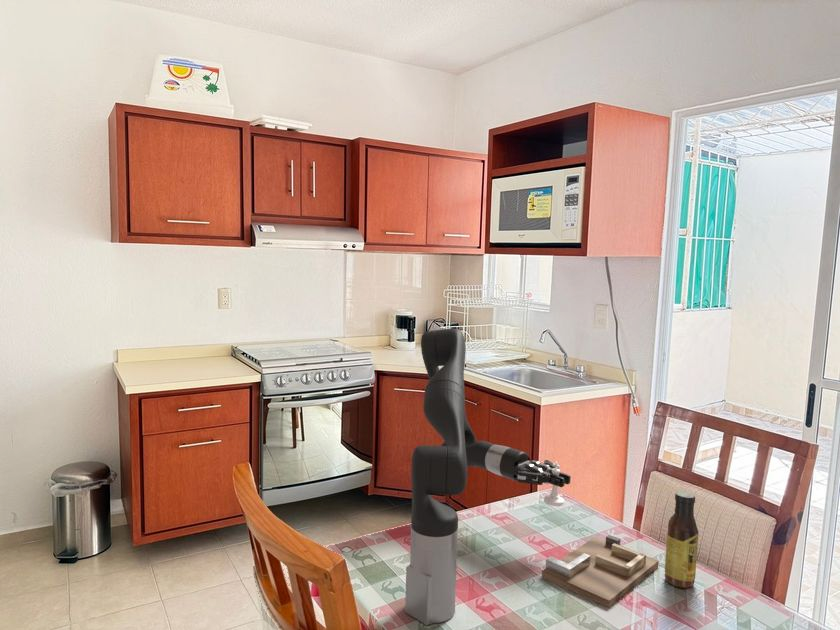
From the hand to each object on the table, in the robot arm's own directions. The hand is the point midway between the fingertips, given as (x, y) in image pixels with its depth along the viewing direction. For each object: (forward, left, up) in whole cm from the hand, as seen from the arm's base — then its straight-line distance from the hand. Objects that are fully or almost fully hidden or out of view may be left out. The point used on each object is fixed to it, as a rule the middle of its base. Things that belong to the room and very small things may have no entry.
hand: (566, 481), depth 143 cm
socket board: (-1, -11, -18) cm, 21 cm away
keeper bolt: (-7, -6, -16) cm, 19 cm away
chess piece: (0, +3, -6) cm, 7 cm away
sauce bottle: (+8, -25, -18) cm, 31 cm away
